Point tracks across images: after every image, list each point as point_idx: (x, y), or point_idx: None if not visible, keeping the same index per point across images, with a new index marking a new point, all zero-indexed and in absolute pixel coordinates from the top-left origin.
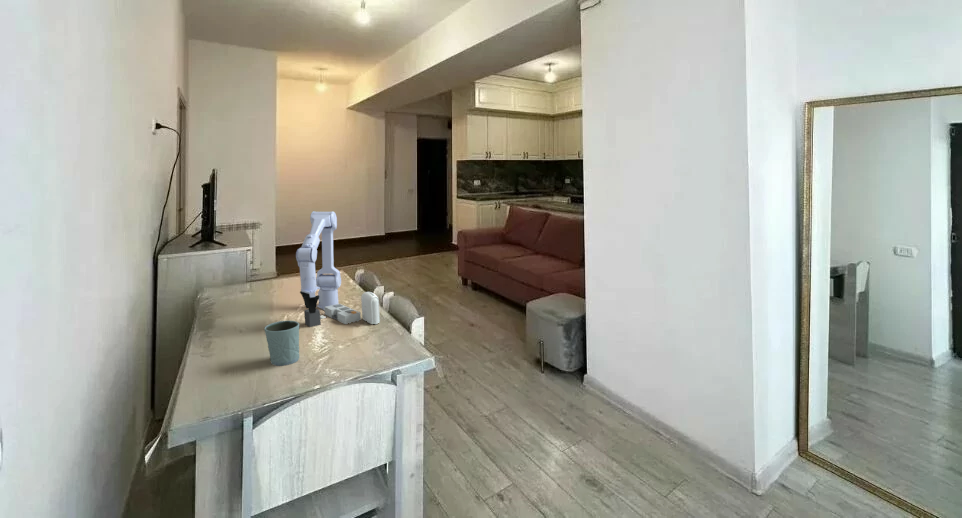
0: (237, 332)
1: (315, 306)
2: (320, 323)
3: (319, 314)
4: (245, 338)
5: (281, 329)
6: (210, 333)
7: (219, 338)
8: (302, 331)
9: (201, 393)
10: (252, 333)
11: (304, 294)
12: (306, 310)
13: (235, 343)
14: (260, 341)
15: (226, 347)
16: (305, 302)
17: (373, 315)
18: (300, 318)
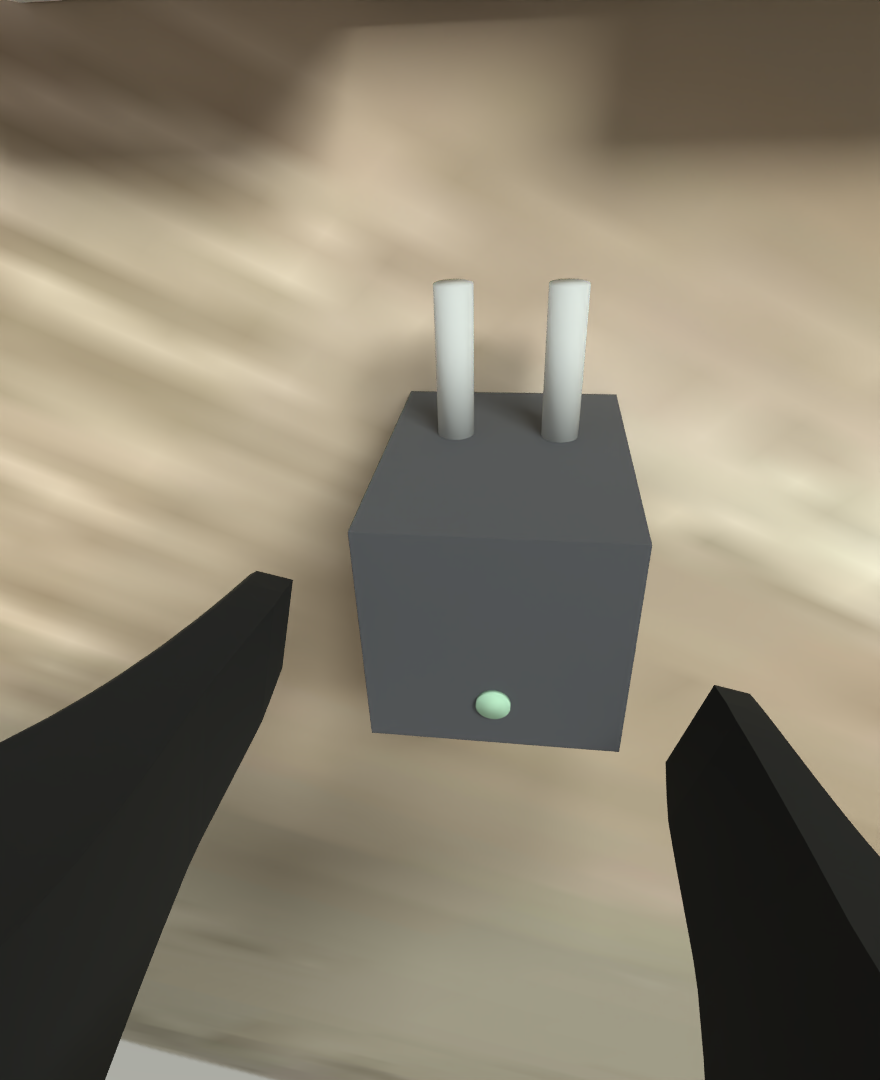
0: (244, 959)
1: (847, 845)
2: (616, 404)
3: (639, 502)
4: (441, 982)
5: None
6: (161, 1021)
7: (312, 1034)
8: (683, 690)
9: None
10: (347, 927)
11: (91, 1065)
12: (423, 717)
13: (504, 1035)
14: (613, 968)
15: (542, 1072)
16: (217, 792)
17: None
18: (78, 478)
